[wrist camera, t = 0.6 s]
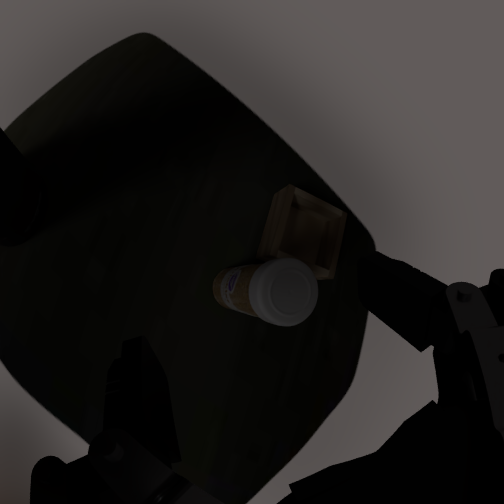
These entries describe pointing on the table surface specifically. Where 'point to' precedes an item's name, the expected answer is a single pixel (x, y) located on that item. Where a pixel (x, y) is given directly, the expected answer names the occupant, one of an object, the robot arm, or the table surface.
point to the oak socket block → (303, 231)
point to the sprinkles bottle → (269, 290)
